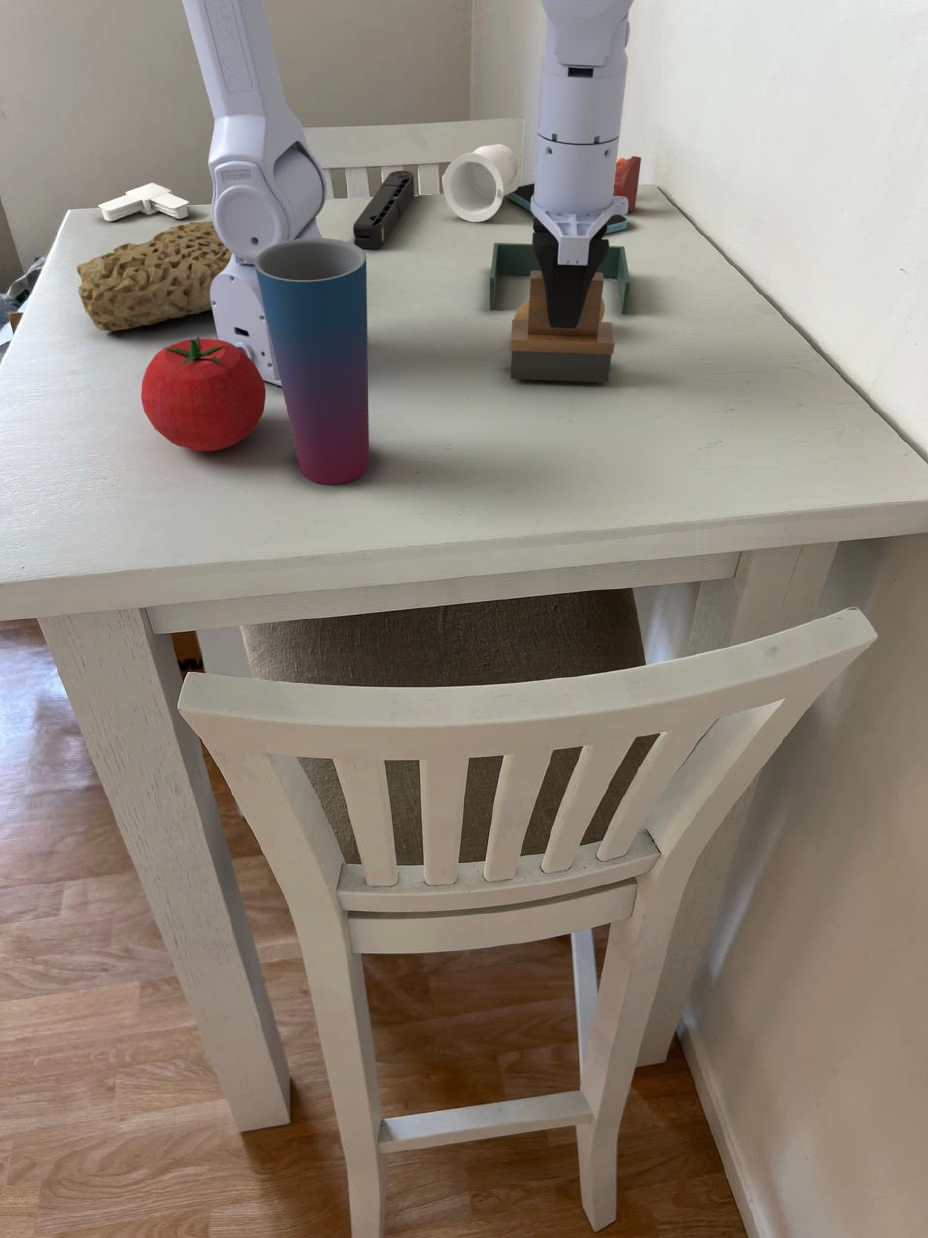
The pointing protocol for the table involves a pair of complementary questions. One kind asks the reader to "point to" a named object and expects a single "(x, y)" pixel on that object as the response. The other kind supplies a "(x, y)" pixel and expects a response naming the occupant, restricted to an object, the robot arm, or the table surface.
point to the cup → (321, 351)
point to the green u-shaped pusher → (524, 261)
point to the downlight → (480, 182)
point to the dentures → (627, 179)
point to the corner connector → (145, 203)
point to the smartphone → (527, 191)
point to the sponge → (154, 278)
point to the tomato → (203, 394)
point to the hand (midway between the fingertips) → (562, 319)
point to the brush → (562, 340)
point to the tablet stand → (384, 210)
